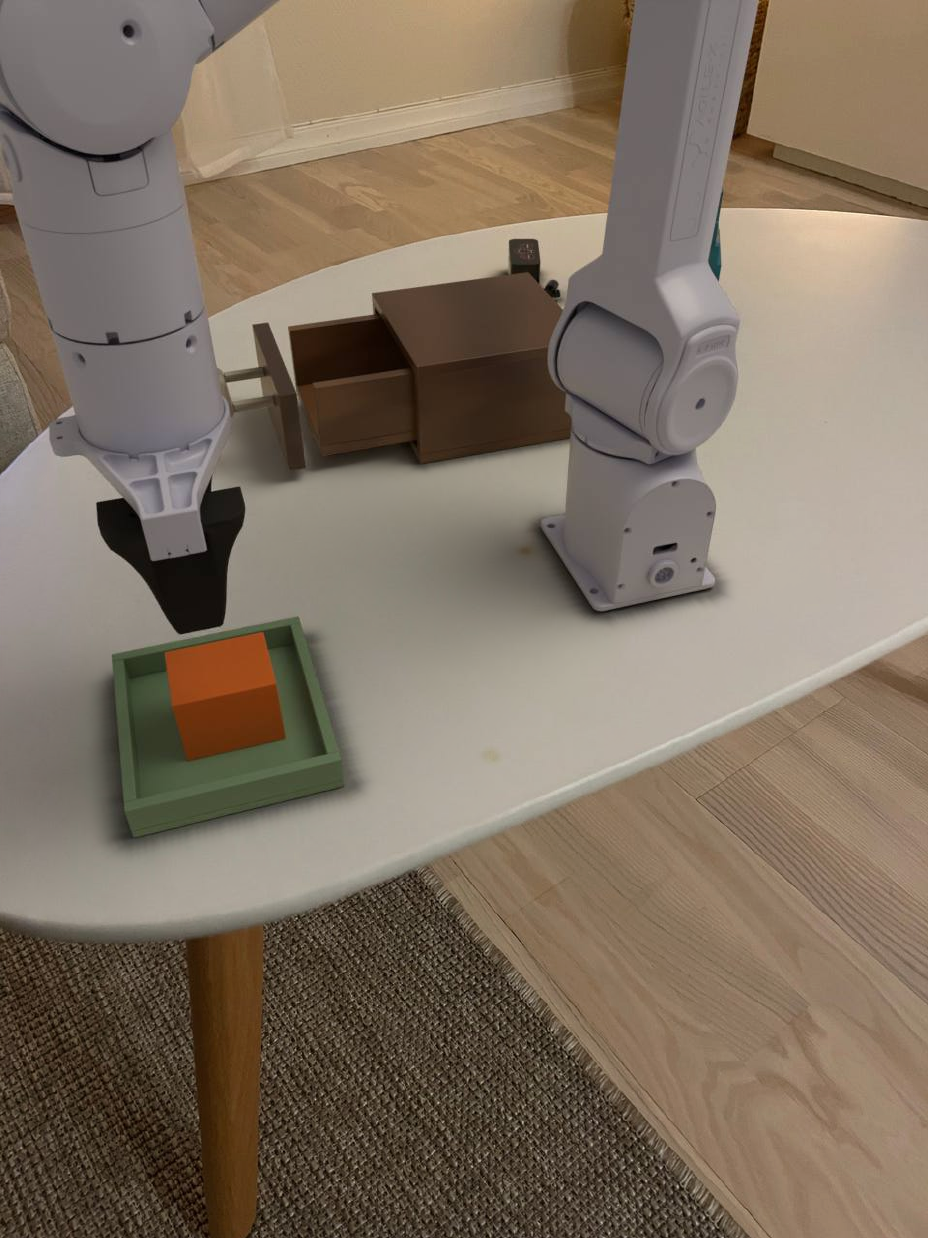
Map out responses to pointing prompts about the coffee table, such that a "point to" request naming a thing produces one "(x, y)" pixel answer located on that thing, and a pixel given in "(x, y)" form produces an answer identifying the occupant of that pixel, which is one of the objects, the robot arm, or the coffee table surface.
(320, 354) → the drawer
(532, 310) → the cabinet
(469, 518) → the coffee table surface
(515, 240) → the wireless earbuds
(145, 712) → the tray
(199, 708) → the matte orange cube
